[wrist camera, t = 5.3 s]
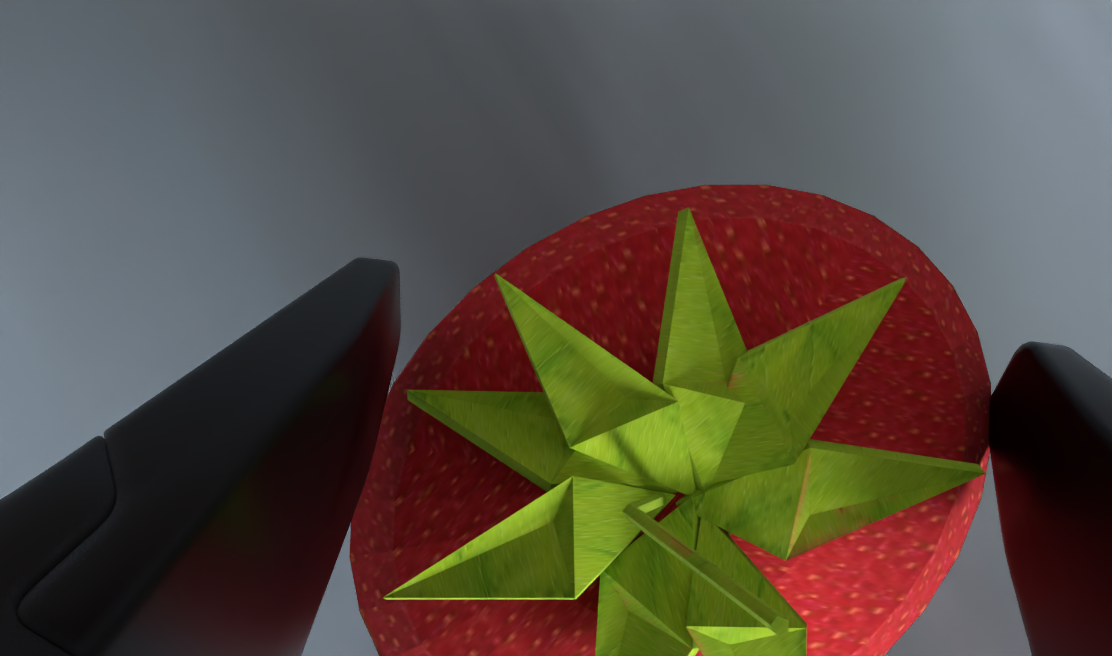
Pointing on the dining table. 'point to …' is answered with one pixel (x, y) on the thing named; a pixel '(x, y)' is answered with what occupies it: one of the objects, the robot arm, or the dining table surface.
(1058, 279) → the dining table surface
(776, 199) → the strawberry
